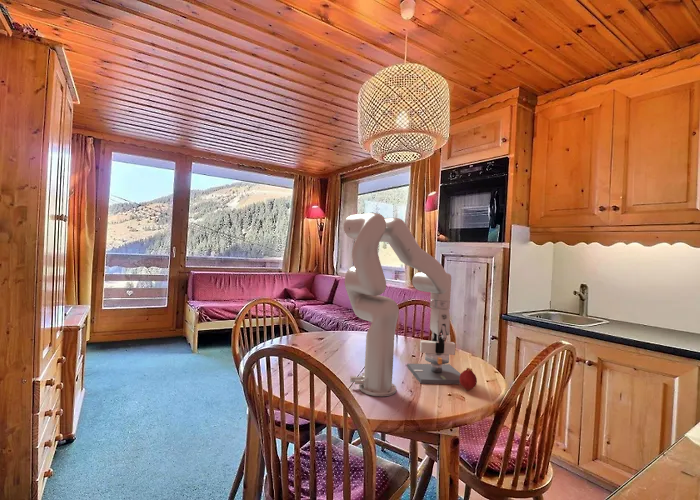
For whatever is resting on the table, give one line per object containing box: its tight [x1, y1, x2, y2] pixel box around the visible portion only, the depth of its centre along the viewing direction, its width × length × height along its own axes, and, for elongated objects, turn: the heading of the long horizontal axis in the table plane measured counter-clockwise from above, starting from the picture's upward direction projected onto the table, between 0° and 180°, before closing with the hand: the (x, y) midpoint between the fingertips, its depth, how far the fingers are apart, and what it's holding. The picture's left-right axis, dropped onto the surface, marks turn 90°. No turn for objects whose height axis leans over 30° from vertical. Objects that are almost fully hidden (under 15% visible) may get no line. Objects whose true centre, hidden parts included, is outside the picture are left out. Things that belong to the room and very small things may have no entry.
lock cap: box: [419, 339, 457, 365], centre depth 138 cm, size 11×13×7 cm
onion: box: [459, 367, 478, 392], centre depth 125 cm, size 6×6×8 cm
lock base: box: [406, 362, 462, 385], centre depth 139 cm, size 18×18×6 cm
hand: (437, 350), depth 139 cm, fingers closed on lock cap, 3 cm apart
